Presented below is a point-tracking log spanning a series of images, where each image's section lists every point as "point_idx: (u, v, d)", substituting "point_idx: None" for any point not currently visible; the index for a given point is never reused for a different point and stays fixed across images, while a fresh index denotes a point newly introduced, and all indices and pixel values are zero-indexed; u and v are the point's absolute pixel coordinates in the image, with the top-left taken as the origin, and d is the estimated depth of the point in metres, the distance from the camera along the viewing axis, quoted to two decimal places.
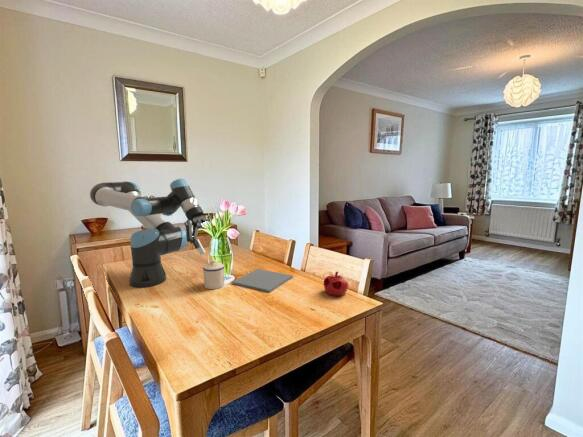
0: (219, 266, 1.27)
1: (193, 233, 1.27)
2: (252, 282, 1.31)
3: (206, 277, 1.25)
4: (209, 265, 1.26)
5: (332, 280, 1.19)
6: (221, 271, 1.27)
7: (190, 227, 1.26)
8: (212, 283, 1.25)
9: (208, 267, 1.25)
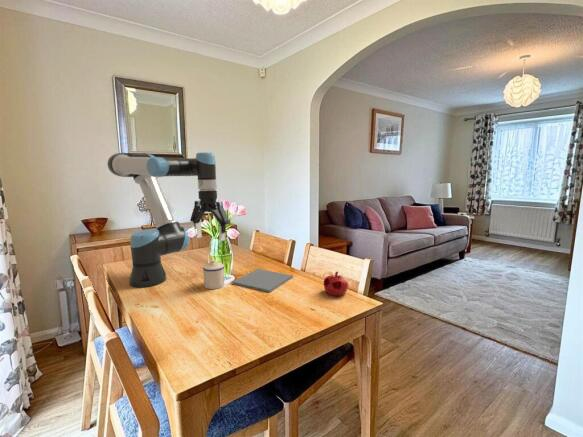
0: (219, 266, 1.27)
1: None
2: (252, 282, 1.31)
3: (206, 277, 1.25)
4: (209, 265, 1.26)
5: (332, 280, 1.19)
6: (221, 271, 1.27)
7: (194, 209, 1.28)
8: (212, 283, 1.25)
9: (208, 267, 1.25)
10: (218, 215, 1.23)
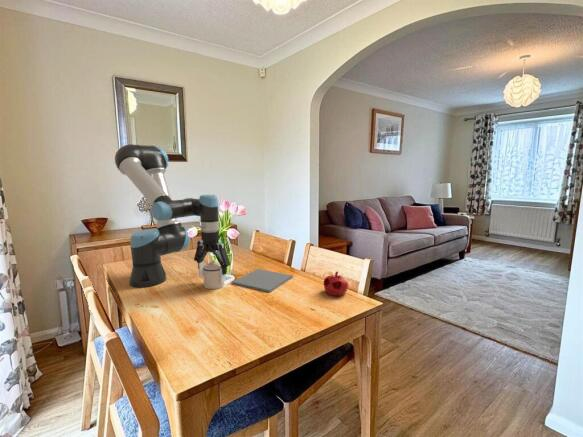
0: (219, 266, 1.27)
1: None
2: (252, 282, 1.31)
3: (206, 277, 1.25)
4: (209, 265, 1.26)
5: (332, 280, 1.19)
6: None
7: (197, 249, 1.31)
8: (212, 283, 1.25)
9: (208, 267, 1.25)
10: (220, 256, 1.26)
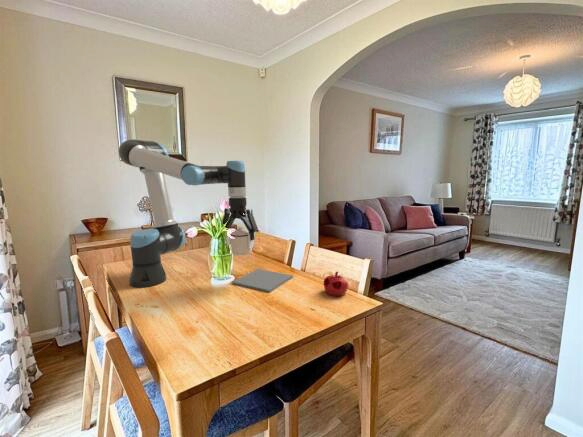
0: (247, 232, 1.26)
1: None
2: (252, 282, 1.31)
3: (234, 243, 1.25)
4: (237, 231, 1.26)
5: (332, 280, 1.19)
6: None
7: (224, 217, 1.31)
8: (240, 249, 1.25)
9: (236, 233, 1.25)
10: (247, 222, 1.26)
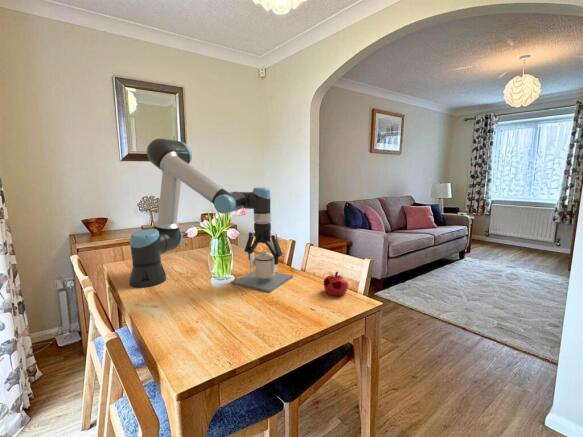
0: (271, 256, 1.31)
1: None
2: (252, 282, 1.31)
3: (259, 267, 1.30)
4: (261, 255, 1.31)
5: (332, 280, 1.19)
6: None
7: (248, 240, 1.35)
8: (265, 273, 1.30)
9: (261, 257, 1.30)
10: (272, 247, 1.30)
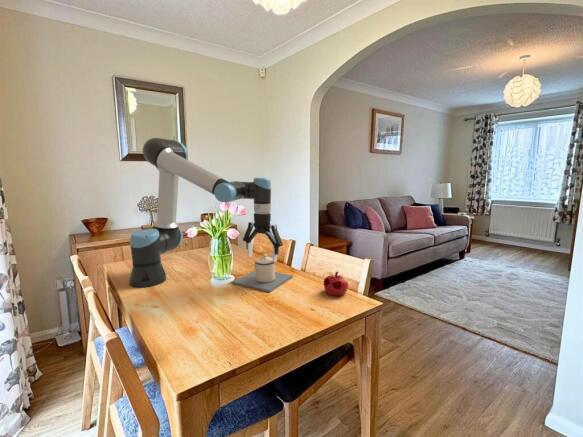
0: (271, 260, 1.31)
1: None
2: (252, 282, 1.31)
3: (259, 271, 1.30)
4: (262, 259, 1.31)
5: (332, 280, 1.19)
6: (273, 265, 1.31)
7: (247, 230, 1.34)
8: (265, 277, 1.30)
9: (261, 261, 1.30)
10: (272, 237, 1.29)
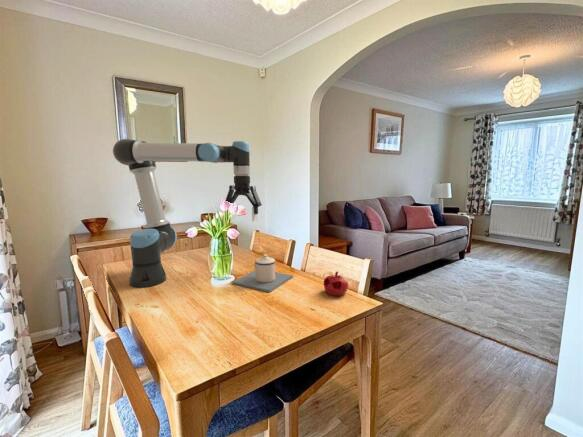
0: (271, 260, 1.31)
1: None
2: (252, 282, 1.31)
3: (259, 271, 1.30)
4: (262, 259, 1.31)
5: (332, 280, 1.19)
6: (273, 265, 1.31)
7: (229, 193, 1.42)
8: (265, 277, 1.30)
9: (261, 261, 1.30)
10: (251, 198, 1.37)
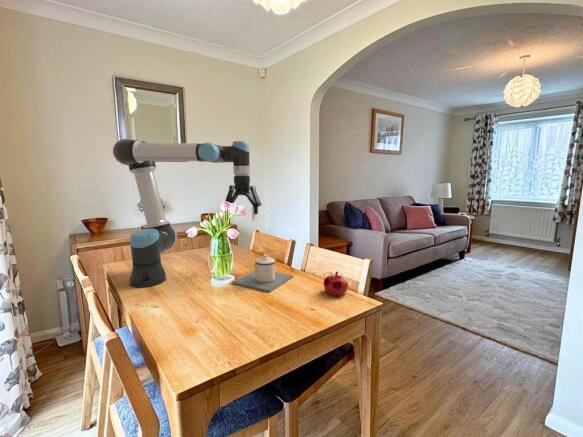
0: (271, 260, 1.31)
1: None
2: (252, 282, 1.31)
3: (259, 271, 1.30)
4: (262, 259, 1.31)
5: (332, 280, 1.19)
6: (273, 265, 1.31)
7: (229, 193, 1.42)
8: (265, 277, 1.30)
9: (261, 261, 1.30)
10: (251, 198, 1.37)
